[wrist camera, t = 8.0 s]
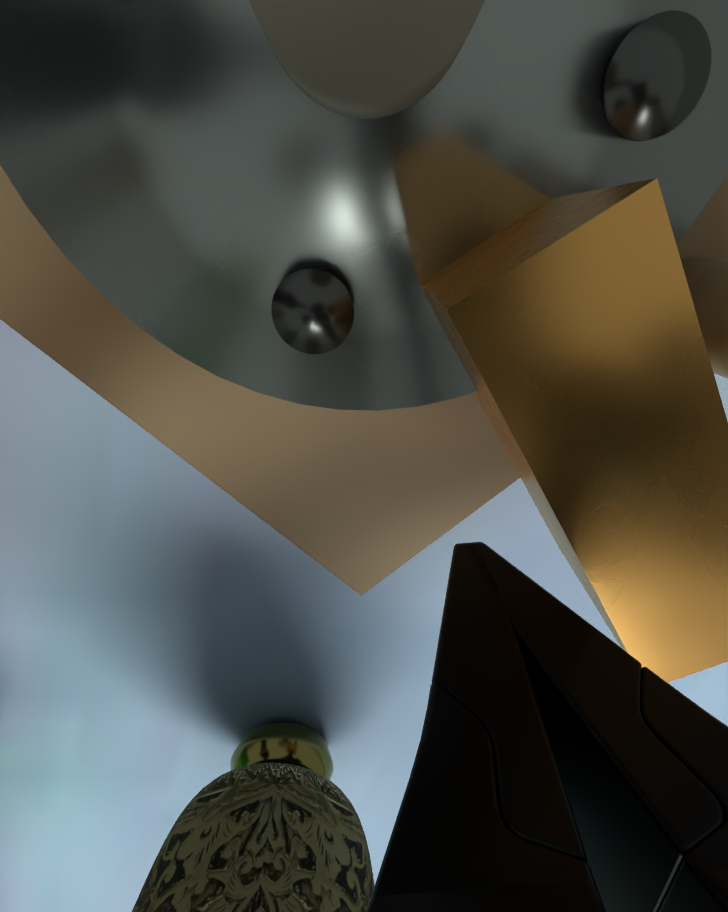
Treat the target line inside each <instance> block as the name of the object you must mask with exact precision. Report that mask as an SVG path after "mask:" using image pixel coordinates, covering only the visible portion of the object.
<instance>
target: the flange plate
mask: <svg viewBox="0 0 728 912" xmlns="http://www.w3.org/2000/svg"><path fill="white" fill-rule="evenodd" d="M0 165H1V167H2V168H3V170H4V171H5V173H6V175H7V176H8V178H9V179H10V181H11V182H12V184H13V186H14V187H15V189H16V190H17V192H18V193H19V195H20V197H21V198H22V200H23V201H24V203H25V205H26V206H27V208H28V209H29V210H30V212H31V213H32V214H33V215H34V217H35V218H36V219H37V221H38V222H39V223H40V224H41V226H42V227H43V228H44V230H45V231H46V232H47V234H48V235H49V236H50V237H51V239H52V240H53V241H54V243H55V244H56V245H57V246H58V248H59V249H60V250H61V252H62V253H63V254H64V255H65V256H66V257H67V259H68V260H69V261H70V262H71V263H72V264H73V265H74V266H75V267H76V268H77V269H78V270H79V271H80V272H81V273H82V275H83V276H84V277H85V278H86V279H87V280H88V281H89V282H90V283H91V284H92V285H93V286H94V287H95V288H96V289H97V290H98V292H99V293H100V294H101V295H102V296H104V297H105V298H106V299H107V300H108V301H109V302H111V303H112V304H113V305H114V306H115V307H116V308H117V309H119V310H120V311H121V312H122V313H123V314H124V315H125V316H127V317H128V318H129V319H130V320H131V321H132V322H134V323H135V324H136V325H137V326H138V327H139V328H141V329H142V330H143V331H145V332H146V333H148V334H149V335H151V336H152V337H153V338H155V339H156V340H158V341H159V342H161V343H162V344H164V345H165V346H166V347H168V348H169V349H171V350H172V351H174V352H175V353H176V354H178V355H179V356H181V357H183V358H185V359H187V360H189V361H190V362H192V363H194V364H196V365H198V366H200V367H201V368H203V369H205V370H207V371H209V372H211V373H212V374H214V375H216V376H218V377H220V378H223V379H225V380H228V381H230V382H232V383H235V384H237V385H240V386H242V387H245V388H247V389H250V390H252V391H255V392H257V393H260V394H264V395H268V396H271V397H275V398H279V399H282V400H286V401H290V402H293V403H297V404H303V405H310V406H316V407H323V408H330V409H337V410H374V411H379V410H389V409H399V408H409V407H419V406H423V405H428V404H432V403H436V402H441V401H445V400H450V399H454V398H459V397H461V396H464V395H467V394H470V393H473V392H474V393H475V395H476V396H477V398H478V400H479V402H480V404H481V406H482V407H483V409H484V411H485V413H486V415H487V417H488V418H489V420H490V422H491V424H492V426H493V428H494V429H495V431H496V433H497V435H498V437H499V439H500V440H501V442H502V444H503V446H504V448H505V450H506V451H507V453H508V455H509V457H510V459H511V461H512V462H513V464H514V466H515V468H516V470H517V472H518V473H519V475H520V477H521V479H522V481H523V483H524V484H525V486H526V488H527V490H528V492H529V494H530V495H531V497H532V499H533V501H534V503H535V505H536V506H537V508H538V510H539V512H540V514H541V516H542V517H543V519H544V521H545V523H546V525H547V527H548V528H549V530H550V532H551V534H552V536H553V538H554V539H555V541H556V543H557V545H558V547H559V548H560V550H561V552H562V553H563V555H564V556H565V558H566V560H567V561H568V563H569V565H570V566H571V568H572V569H573V571H574V573H575V574H576V576H577V577H578V579H579V581H580V582H581V584H582V585H583V587H584V589H585V590H586V592H587V593H588V595H589V597H590V598H591V600H592V601H593V603H594V605H595V606H596V608H597V609H598V611H599V613H600V614H601V616H602V618H603V619H604V621H605V622H606V624H607V626H608V627H609V629H610V630H611V632H612V634H613V635H614V637H615V638H616V640H617V642H618V643H619V645H620V646H621V648H622V649H623V650H625V651H626V652H627V653H629V654H630V655H631V656H632V657H634V658H635V659H636V660H638V661H639V662H640V663H641V665H642V668H643V667H647V668H648V669H650V670H651V671H652V672H654V673H655V674H656V675H658V676H659V677H660V678H662V679H663V680H664V681H666V682H670V681H673V680H676V679H679V678H681V677H684V676H687V675H690V674H693V673H696V672H698V671H701V670H704V669H707V668H710V667H713V666H715V665H718V664H721V663H724V662H727V661H728V422H727V419H726V415H725V412H724V408H723V405H722V401H721V398H720V394H719V391H718V387H717V384H716V380H715V377H714V373H713V370H712V366H711V363H710V360H709V356H708V353H707V349H706V346H705V342H704V339H703V335H702V332H701V328H700V325H699V321H698V318H697V314H696V311H695V307H694V304H693V300H692V297H691V294H690V290H689V287H688V283H687V280H686V276H685V273H684V269H683V266H682V262H681V259H680V255H679V252H678V248H677V245H676V243H677V242H678V241H679V240H680V239H681V237H682V236H683V235H684V234H685V233H686V232H687V230H688V229H689V228H690V227H691V225H692V224H693V223H694V221H695V220H696V218H697V217H698V215H699V214H700V212H701V211H702V209H703V208H704V207H705V205H706V204H707V202H708V201H709V199H710V198H711V196H712V195H713V193H714V192H715V190H716V189H717V188H718V186H719V185H720V183H721V182H722V180H723V179H724V177H725V176H726V174H727V173H728V0H485V2H484V4H483V6H482V8H481V10H480V13H479V15H478V17H477V19H476V21H475V23H474V25H473V27H472V29H471V31H470V33H469V34H468V36H467V38H466V40H465V42H464V44H463V46H462V48H461V50H460V52H459V54H458V55H457V57H456V59H455V60H454V62H453V64H452V65H451V67H450V69H449V70H448V72H447V73H446V74H445V75H444V77H443V78H442V79H441V81H440V82H439V83H438V84H437V85H436V86H435V87H434V88H433V89H432V90H431V91H430V92H429V93H428V94H427V95H426V96H425V97H423V98H422V99H421V100H420V101H418V102H417V103H416V104H414V105H412V106H410V107H409V108H407V109H405V110H403V111H401V112H398V113H396V114H393V115H391V116H386V117H382V118H376V119H358V118H350V117H346V116H342V115H339V114H336V113H334V112H332V111H329V110H327V109H325V108H324V107H322V106H320V105H319V104H317V103H316V102H314V101H313V100H312V99H310V98H309V97H308V96H307V95H306V94H304V93H303V92H302V91H301V90H300V89H299V88H298V87H297V86H296V84H295V83H294V82H293V81H292V80H291V79H290V77H289V76H288V75H287V73H286V72H285V71H284V69H283V68H282V66H281V64H280V63H279V61H278V59H277V57H276V56H275V54H274V52H273V50H272V48H271V46H270V44H269V42H268V40H267V38H266V36H265V34H264V32H263V30H262V28H261V26H260V24H259V22H258V20H257V18H256V16H255V13H254V11H253V9H252V7H251V4H250V2H249V0H0Z"/></svg>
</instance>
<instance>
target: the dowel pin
mask: <svg viewBox="0 0 728 912" xmlns="http://www.w3.org/2000/svg"><path fill="white" fill-rule="evenodd" d="M681 262H682V266H683V269H684V273H685V276H686V280H687V283H688V287H689V290H690V294H691V297H692V300H693V304H694V307H695V311H696V314H697V318H698V321H699V325H700V328H701V332H702V335H703V339H704V342H705V346H706V349H707V353H708V356H709V360H710V363H711V366H712V370H713V373H715V374H718V375H720V376H723V377H725V378H728V259H719V258H704V257H691V258H686V259H682V260H681Z"/></svg>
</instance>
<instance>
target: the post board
mask: <svg viewBox="0 0 728 912" xmlns="http://www.w3.org/2000/svg"><path fill="white" fill-rule="evenodd" d="M249 2H250V4H251V7H252V9H253V11H254V13H255V16H256V18H257V20H258V22H259V24H260V26H261V28H262V30H263V32H264V34H265V36H266V38H267V40H268V42H269V44H270V46H271V48H272V50H273V52H274V54H275V56H276V57H277V59H278V61H279V63H280V64H281V66H282V68H283V69H284V71H285V72H286V73H287V75H288V76H289V77H290V79H291V80H292V81H293V82H294V83H295V84H296V86H297V87H298V88H299V89H300V90H301V91H302V92H303V93H304V94H306V95H307V96H308V97H309V98H310V99H312V100H313V101H314V102H316V103H317V104H319V105H320V106H322V107H324V108H325V109H327V110H329V111H332V112H334V113H336V114H339V115H342V116H346V117H350V118H358V119H376V118H382V117H386V116H391V115H393V114H396V113H398V112H401V111H403V110H405V109H407V108H409V107H410V106H412V105H414V104H416V103H417V102H418V101H420V100H421V99H422V98H423V97H425V96H426V95H427V94H428V93H429V92H430V91H431V90H432V89H433V88H434V87H435V86H436V85H437V84H438V83H439V82H440V81H441V79H442V78H443V77H444V75H445V74H446V73H447V72H448V70H449V69H450V67H451V65H452V64H453V62H454V60H455V59H456V57H457V55H458V54H459V52H460V50H461V48H462V46H463V44H464V42H465V40H466V38H467V36H468V34H469V33H470V31H471V29H472V27H473V25H474V23H475V21H476V19H477V17H478V15H479V13H480V10H481V8H482V6H483V4H484V2H485V0H249ZM676 245H677V248H678V252H679V255H680V259H681V260H682V259H686V258H691V257H704V258H719V259H728V173H727V174H726V176H725V177H724V179H723V180H722V182H721V183H720V185H719V186H718V188H717V189H716V190H715V192H714V193H713V195H712V196H711V198H710V199H709V201H708V202H707V204H706V205H705V207H704V208H703V209H702V211H701V212H700V214H699V215H698V217H697V218H696V220H695V221H694V223H693V224H692V225H691V227H690V228H689V229H688V230H687V232H686V233H685V234H684V235H683V236H682V237H681V239H680V240H679V241H678V242H677V243H676ZM0 319H1V320H2V321H4V322H5V323H6V324H8V325H9V326H10V327H11V328H13V329H14V330H15V331H17V332H18V333H19V334H21V335H22V336H23V337H24V338H26V339H27V340H28V341H30V342H31V343H32V344H34V345H35V346H36V347H38V348H39V349H40V350H41V351H43V352H44V353H45V354H47V355H48V356H49V357H51V358H52V359H53V360H55V361H56V362H57V363H58V364H60V365H61V366H62V367H64V368H65V369H66V370H68V371H69V372H70V373H71V374H73V375H74V376H75V377H77V378H78V379H79V380H81V381H82V382H83V383H85V384H86V385H87V386H88V387H90V388H91V389H92V390H94V391H95V392H96V393H98V394H99V395H100V396H102V397H103V398H104V399H105V400H107V401H108V402H109V403H111V404H112V405H113V406H115V407H116V408H117V409H118V410H120V411H121V412H122V413H124V414H125V415H126V416H128V417H129V418H130V419H132V420H133V421H134V422H135V423H137V424H138V425H139V426H141V427H142V428H143V429H145V430H146V431H147V432H149V433H150V434H151V435H152V436H154V437H155V438H156V439H158V440H159V441H160V442H162V443H163V444H164V445H165V446H167V447H168V448H169V449H171V450H172V451H173V452H175V453H176V454H177V455H179V456H180V457H181V458H182V459H184V460H185V461H186V462H188V463H189V464H190V465H192V466H193V467H194V468H196V469H197V470H198V471H199V472H201V473H202V474H203V475H205V476H206V477H207V478H209V479H210V480H211V481H212V482H214V483H215V484H216V485H218V486H219V487H220V488H222V489H223V490H224V491H226V492H227V493H228V494H229V495H231V496H232V497H233V498H235V499H236V500H237V501H239V502H240V503H241V504H243V505H244V506H245V507H246V508H248V509H249V510H250V511H252V512H253V513H254V514H256V515H257V516H258V517H259V518H261V519H262V520H263V521H265V522H266V523H267V524H269V525H270V526H271V527H273V528H274V529H275V530H276V531H278V532H279V533H280V534H282V535H283V536H284V537H286V538H287V539H288V540H290V541H291V542H292V543H293V544H295V545H296V546H297V547H299V548H300V549H301V550H303V551H304V552H305V553H306V554H308V555H309V556H310V557H312V558H313V559H314V560H316V561H317V562H318V563H320V564H321V565H322V566H323V567H325V568H326V569H327V570H329V571H330V572H331V573H333V574H334V575H335V576H337V577H338V578H339V579H340V580H342V581H343V582H344V583H346V584H347V585H348V586H350V587H351V588H352V589H353V590H355V591H356V592H357V593H359V594H360V595H362V594H364V593H365V592H366V591H368V590H369V589H370V588H372V587H373V586H374V585H376V584H377V583H378V582H380V581H381V580H382V579H384V578H385V577H387V576H388V575H389V574H391V573H392V572H393V571H395V570H396V569H397V568H399V567H400V566H401V565H403V564H404V563H405V562H407V561H408V560H409V559H411V558H412V557H413V556H415V555H416V554H418V553H419V552H420V551H422V550H423V549H424V548H426V547H427V546H428V545H430V544H431V543H432V542H434V541H435V540H436V539H438V538H439V537H440V536H442V535H443V534H444V533H446V532H447V531H449V530H450V529H451V528H453V527H454V526H455V525H457V524H458V523H459V522H461V521H462V520H463V519H465V518H466V517H467V516H469V515H470V514H471V513H473V512H474V511H475V510H477V509H478V508H480V507H481V506H482V505H484V504H485V503H486V502H488V501H489V500H490V499H492V498H493V497H494V496H496V495H497V494H498V493H500V492H501V491H502V490H504V489H505V488H506V487H508V486H509V485H511V484H512V483H513V482H515V481H516V480H517V479H519V478H520V475H519V473H518V472H517V470H516V468H515V466H514V464H513V462H512V461H511V459H510V457H509V455H508V453H507V451H506V450H505V448H504V446H503V444H502V442H501V440H500V439H499V437H498V435H497V433H496V431H495V429H494V428H493V426H492V424H491V422H490V420H489V418H488V417H487V415H486V413H485V411H484V409H483V407H482V406H481V404H480V402H479V400H478V398H477V396H476V395H475V393H474V392H473V393H470V394H467V395H464V396H461V397H459V398H454V399H450V400H445V401H441V402H436V403H432V404H428V405H423V406H419V407H409V408H399V409H389V410H379V411H374V410H337V409H330V408H323V407H316V406H310V405H303V404H297V403H293V402H290V401H286V400H282V399H279V398H275V397H271V396H268V395H264V394H260V393H257V392H255V391H252V390H250V389H247V388H245V387H242V386H240V385H237V384H235V383H232V382H230V381H228V380H225V379H223V378H220V377H218V376H216V375H214V374H212V373H211V372H209V371H207V370H205V369H203V368H201V367H200V366H198V365H196V364H194V363H192V362H190V361H189V360H187V359H185V358H183V357H181V356H179V355H178V354H176V353H175V352H174V351H172V350H171V349H169V348H168V347H166V346H165V345H164V344H162V343H161V342H159V341H158V340H156V339H155V338H153V337H152V336H151V335H149V334H148V333H146V332H145V331H143V330H142V329H141V328H139V327H138V326H137V325H136V324H135V323H134V322H132V321H131V320H130V319H129V318H128V317H127V316H125V315H124V314H123V313H122V312H121V311H120V310H119V309H117V308H116V307H115V306H114V305H113V304H112V303H111V302H109V301H108V300H107V299H106V298H105V297H104V296H102V295H101V294H100V293H99V292H98V290H97V289H96V288H95V287H94V286H93V285H92V284H91V283H90V282H89V281H88V280H87V279H86V278H85V277H84V276H83V275H82V273H81V272H80V271H79V270H78V269H77V268H76V267H75V266H74V265H73V264H72V263H71V262H70V261H69V260H68V259H67V257H66V256H65V255H64V254H63V253H62V252H61V250H60V249H59V248H58V246H57V245H56V244H55V243H54V241H53V240H52V239H51V237H50V236H49V235H48V234H47V232H46V231H45V230H44V228H43V227H42V226H41V224H40V223H39V222H38V221H37V219H36V218H35V217H34V215H33V214H32V213H31V212H30V210H29V209H28V208H27V206H26V205H25V203H24V201H23V200H22V198H21V197H20V195H19V193H18V192H17V190H16V189H15V187H14V186H13V184H12V182H11V181H10V179H9V178H8V176H7V175H6V173H5V171H4V170H3V168H2V167H1V165H0Z"/></svg>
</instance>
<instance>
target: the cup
mask: <svg viewBox="0 0 728 912" xmlns="http://www.w3.org/2000/svg"><path fill="white" fill-rule="evenodd" d="M332 772H333V762H332V758H331V754H330V751H329V749H328V746H327V744H326V742H325V741H324V739H323V738H322V737H321V736H320V735H319V734H318V733H316V732H315V731H313V730H311V729H309V728H307V727H305V726H302V725H299V724H294V723H286V722H278V723H270V724H265V725H262V726H259V727H257V728H255V729H253V730H252V731H250V732H249V733H248V734H247V735H246V736H245V737H244V738H243V739H242V741H241V742H240V743H239V745H238V746H237V748H236V749H235V751H234V753H233V755H232V758H231V771H229V772H227V773H225V774H223V775H221V776H219V777H218V778H216V779H215V780H213V781H212V782H211V783H209V784H208V785H207V786H205V787H204V788H203V789H202V790H201V791H200V792H199V793H198V794H197V795H196V796H195V797H194V798H193V799H192V800H191V801H190V803H189V804H188V805H187V806H186V808H185V809H184V811H183V812H182V813H181V815H180V816H179V817H178V819H177V821H176V822H175V824H174V826H173V827H172V829H171V831H170V833H169V834H168V836H167V838H166V840H165V841H164V843H163V845H162V847H161V849H160V852H159V854H158V856H157V858H156V860H155V862H154V864H153V866H152V868H151V870H150V872H149V875H148V877H147V879H146V881H145V883H144V885H143V888H142V890H141V892H140V894H139V897H138V899H137V901H136V904H135V906H134V908H133V910H132V912H366V909H367V906H368V904H369V901H370V898H371V895H372V892H373V890H374V887H375V886H374V879H373V873H372V866H371V860H370V854H369V850H368V845H367V841H366V837H365V834H364V831H363V828H362V825H361V822H360V820H359V817H358V815H357V813H356V811H355V809H354V807H353V806H352V804H351V802H350V801H349V799H348V798H347V797H346V796H345V794H344V793H343V792H342V791H341V790H340V789H339V788H338V787H337V786H336V785H335V784H334V783H332V782H331V781H330V779H331V776H332Z"/></svg>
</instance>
